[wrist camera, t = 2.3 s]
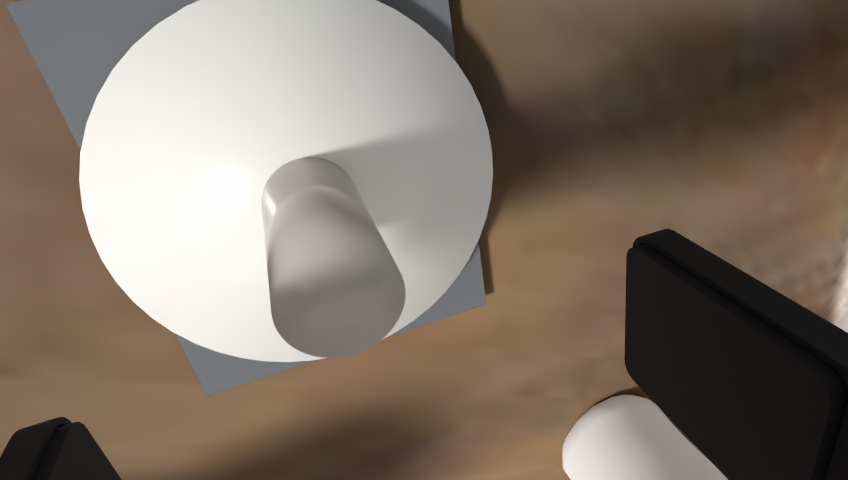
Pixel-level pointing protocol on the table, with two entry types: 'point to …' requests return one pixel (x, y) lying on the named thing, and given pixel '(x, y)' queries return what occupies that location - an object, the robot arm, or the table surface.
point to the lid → (286, 175)
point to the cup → (632, 445)
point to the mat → (88, 71)
